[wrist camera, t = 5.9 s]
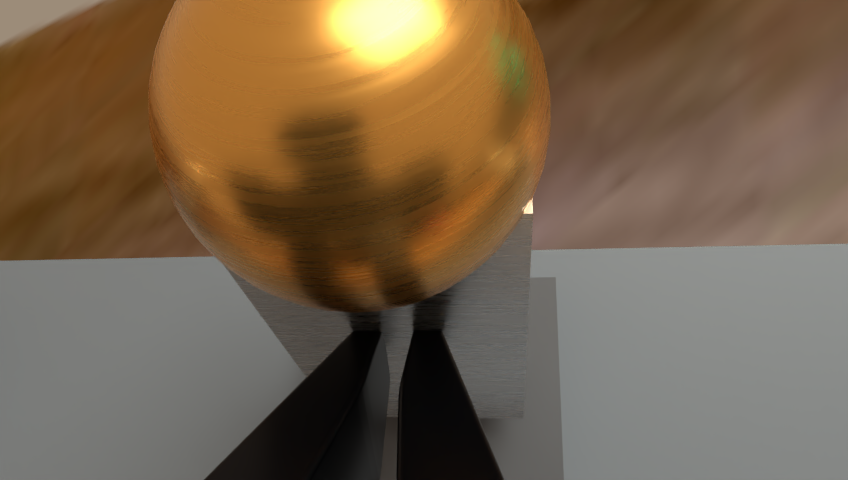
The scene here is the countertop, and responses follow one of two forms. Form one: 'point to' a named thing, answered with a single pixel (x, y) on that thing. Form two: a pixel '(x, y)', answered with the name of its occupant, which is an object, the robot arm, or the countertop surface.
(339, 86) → the orange lever
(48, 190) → the countertop surface
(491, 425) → the switch panel
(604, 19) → the countertop surface
